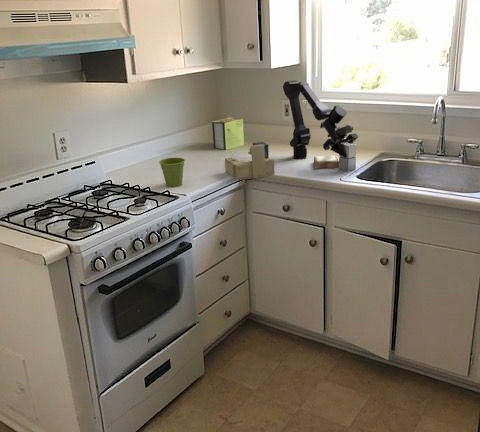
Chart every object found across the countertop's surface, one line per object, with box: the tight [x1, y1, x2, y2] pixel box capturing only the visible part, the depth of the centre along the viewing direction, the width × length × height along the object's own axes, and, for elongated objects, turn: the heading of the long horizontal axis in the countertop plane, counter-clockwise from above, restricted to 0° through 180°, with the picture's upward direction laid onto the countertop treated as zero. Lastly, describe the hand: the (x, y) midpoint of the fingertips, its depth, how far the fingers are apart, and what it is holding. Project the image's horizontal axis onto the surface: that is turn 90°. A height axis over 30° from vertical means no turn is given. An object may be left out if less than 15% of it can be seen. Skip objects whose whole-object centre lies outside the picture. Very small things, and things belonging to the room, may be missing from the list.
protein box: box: [211, 117, 245, 151], centre depth 310 cm, size 10×15×16 cm
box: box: [252, 141, 270, 159], centre depth 270 cm, size 8×6×11 cm
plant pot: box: [158, 157, 186, 188], centre depth 242 cm, size 12×12×11 cm
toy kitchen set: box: [224, 144, 275, 181], centre depth 253 cm, size 18×17×15 cm
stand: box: [313, 155, 339, 169], centre depth 264 cm, size 11×11×3 cm
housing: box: [338, 143, 357, 172], centre depth 253 cm, size 6×5×12 cm
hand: (349, 156), depth 252 cm, fingers closed on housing, 5 cm apart
